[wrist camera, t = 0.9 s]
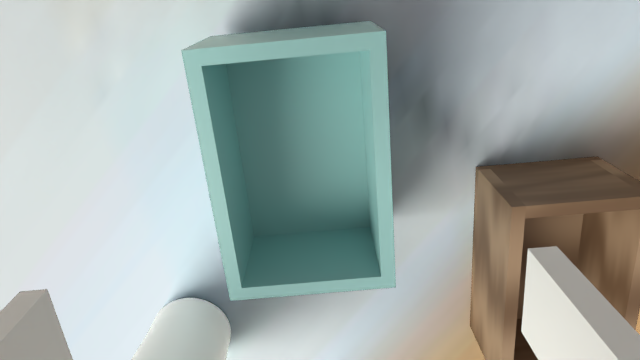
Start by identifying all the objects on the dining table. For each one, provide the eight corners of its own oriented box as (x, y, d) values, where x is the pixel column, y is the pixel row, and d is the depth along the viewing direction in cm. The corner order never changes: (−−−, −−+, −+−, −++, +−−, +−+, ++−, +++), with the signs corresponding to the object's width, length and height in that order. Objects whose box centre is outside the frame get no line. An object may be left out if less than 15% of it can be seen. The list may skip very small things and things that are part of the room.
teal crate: (215, 34, 26) (181, 50, 20) (367, 19, 26) (385, 30, 19) (248, 233, 31) (230, 300, 24) (378, 221, 31) (395, 287, 24)
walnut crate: (474, 165, 30) (511, 207, 24) (596, 155, 29) (661, 194, 24) (469, 323, 34) (499, 389, 28) (574, 315, 34) (625, 380, 28)
